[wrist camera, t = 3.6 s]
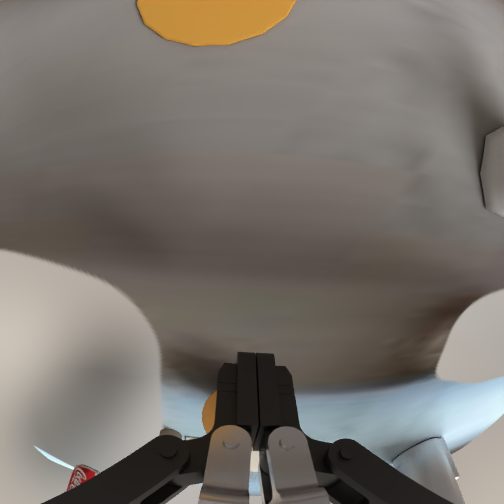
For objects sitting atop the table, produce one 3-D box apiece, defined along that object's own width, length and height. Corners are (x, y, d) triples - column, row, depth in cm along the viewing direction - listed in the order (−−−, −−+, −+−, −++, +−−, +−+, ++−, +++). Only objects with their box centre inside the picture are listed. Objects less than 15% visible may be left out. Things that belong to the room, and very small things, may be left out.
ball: (278, 371, 20) (284, 431, 15) (267, 409, 22) (270, 461, 17) (205, 366, 19) (197, 426, 14) (205, 405, 22) (199, 457, 17)
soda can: (72, 463, 35) (59, 504, 24) (80, 460, 33) (66, 506, 22) (100, 477, 37) (90, 518, 26) (111, 476, 35) (100, 521, 24)
